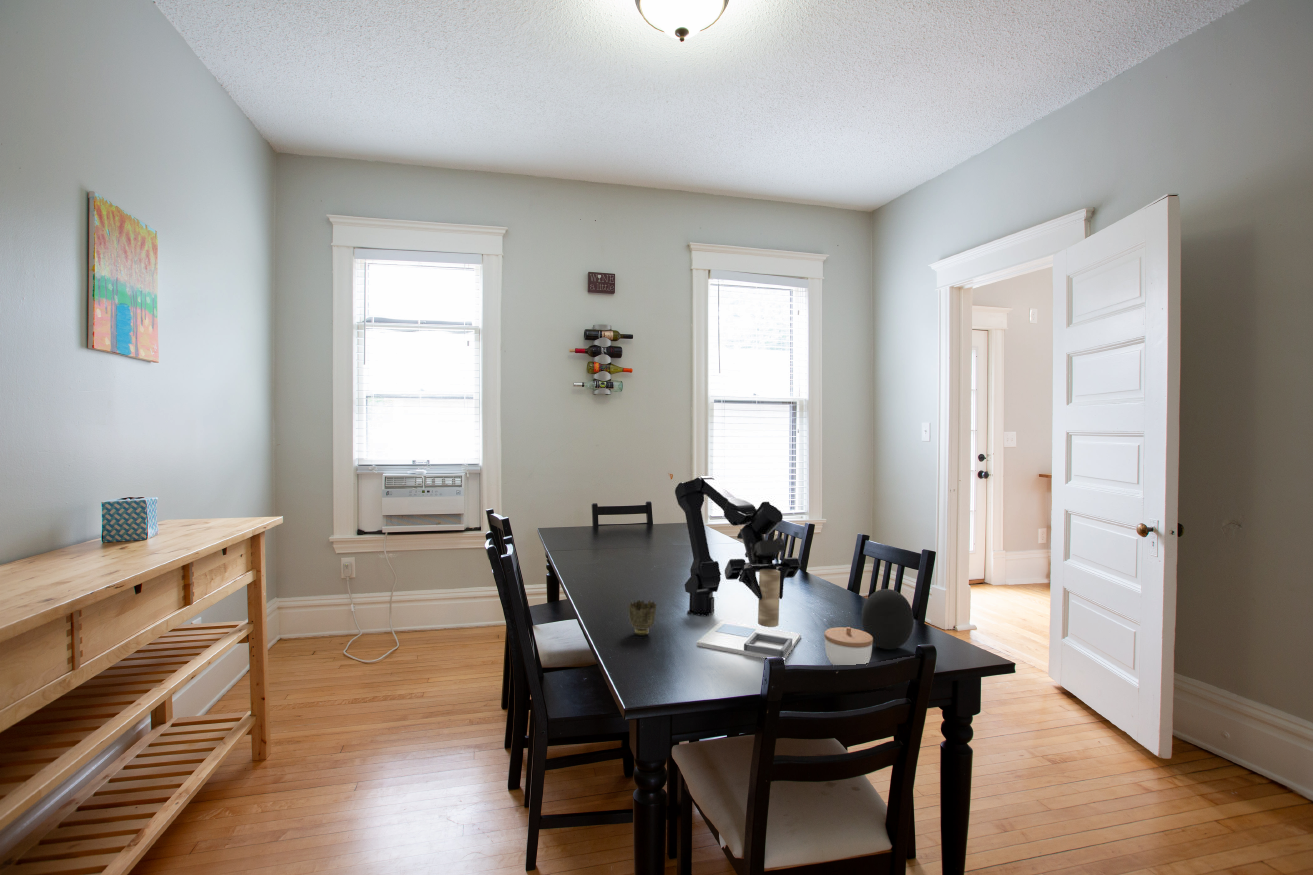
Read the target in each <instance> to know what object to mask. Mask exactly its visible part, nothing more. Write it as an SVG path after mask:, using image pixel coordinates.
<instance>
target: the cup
mask: <svg viewBox="0 0 1313 875" xmlns="http://www.w3.org/2000/svg"><path fill="white" fill-rule="evenodd" d="M656 611H657V603H655V601H650V600H649V601H648V602H647V603H645V602H644V600H640V599H637V600H636V601H634V600H633V601H632V602H631V601H630V602H629V603H628V614H629V615H628V616H629V623H630V624H631V626H632V628H634V632H635V633H634V634H636V635H637V636H646V635H648V634H649V633H650V632H649V629H650V628H652V626H653V624H654V622H655V616H656V613H657V612H656Z"/></svg>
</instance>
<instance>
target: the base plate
mask: <svg viewBox="0 0 1313 875" xmlns="http://www.w3.org/2000/svg"><path fill="white" fill-rule="evenodd" d="M801 636H802V635H801V633H797V632H791V631H786V630H780V629H774V628H770V627H764V626H757V625H751V624H744V623H738V622H732V621H726V620H721V621H720V622H719V623H717V624H716V625H715V626H713V628H711V629H709V631H708V632H707V633H705V634H704V635H703V636H702V637H700V638H699V640H697V641H696V646H697V647H702V648H706V649H711V650H716V651H717V650H718V651H724V652H728V653H734V654H739V655H743V656H749V657H755V658H759V657H760V658H759V659H765V658H767V657H783V658H785V660H786V659H787V658H788V657H787V656H789V655H790V654H791V652H792V651H793V650H794V649H795V647H794V646H796V645H797V644H798V643H799V641H800V639H801ZM791 650H792V651H791ZM789 653H790V654H789ZM788 654H789V655H788ZM762 657H764V658H762ZM765 660H766V659H765Z"/></svg>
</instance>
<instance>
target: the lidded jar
mask: <svg viewBox="0 0 1313 875" xmlns="http://www.w3.org/2000/svg"><path fill="white" fill-rule="evenodd" d="M824 649H825V653H826V654H825V655H826V656H827V659H828V660H829V662H830V663H831V664H832V665H833V666H834V665H856V664H866V663H868V664H869V662H870V660H871V657H872V652H873V637H872V636H871V635H870V634H868V633H866V632H864V630H861V629H857V628H852V627H850V626H847V627H831V628H828V629H825V631H824Z"/></svg>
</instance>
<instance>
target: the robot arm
mask: <svg viewBox="0 0 1313 875" xmlns="http://www.w3.org/2000/svg"><path fill="white" fill-rule="evenodd" d="M674 494H675V498H676V501H677V505H678V506H679V507H680V508H681V510H682V511H683V512H684V514H685V520H686V524H687V530H688V536H689V541H690V547H691V552H692V557H693V558H692V559H693V561H692V563H691V567H690V571H689V573H690V577H689V578H688V579H687V581H686V582H685V583H684V591H685V592H686V593H688V594H689V606H688V610H687V611H686V614H690V615H696V616H700V617H701V616H703V617H708V616H710V615H711V614H712V613H714V612H715V597H714V593H716V592H718V591H719V586H720V583H721V580H722V579H721V575H722V573H721V571H720V564H719V561H718V560H715V561H714V559H713V558H712V557H711V555H710V549H709V545H708V538H707V533H706V528H705V523H704V517H703V513H702V508H703V504H704V501H705V496H706V497H707V498H709V500H711V501H713V503H715V504H716V506H718V507H719V508H721V509H722V511H723V516H724V517H725V519H726V520H727V521H728V523H729V524H730V525H731V526H733V527H735V526H743V527H742V528H740V529H739V532H738V534H737V536H736V538H737V539H739V540H742V542H743V545H744V548H745V554H744V556H745V558H747V560H748V562H746V559H744V558H730V559H729V561H727V563H726V566H725V569H724V576H725V579H726V580H728V581H729V580H730V581H733V580H738V582H739V583H743V585H745V586H746V587H747V588H748V589H749V590H750V591H751V592H752V593H753V594H754V596H755V597H756V598H757V599H758V601H759V600H761V599H762V594H761V590H760V587H759V581H758V578H757V573H759V571H760V570H761V569H774V570H778V571H780V593H779V600H782V599H783V598H784V585H785V584H784V583H785V582H784V581H785V579H786V578H787V579H789V578H790V579H791V578H794V577H795V576H796V575H797V573H798V571H799V570H800V569H801V567H802V564H801V561H800V560H799V558H797V557H795V556H794V557H783V558H782V559H781V561H780V563H775V562H773V561H775V560H776V559H777V558H776V555H778V554H780V553H782V552H784V551H786V544H785V541H784V538H783V537H776V538H775V539H773V540H766V537H765V535H770V533H772V532H773V530H775V529H776V528H777V527H778V525H779V524H780V523H781V522H782V521H783V520H784V519H783V518H784V517H783V514H782V511H781V510H780V509H778V507H776V506H775V505H772V504H771V503H770V501H762V502H761V503H760V505H759V506H758V507H757V508H756V506H755V505H754V504H753V503H751V502H749V501H747V500H745V499H741V498H737V497H735V496H734V495H733V494H731V492H729V491H728V490H727V489H726V488H724V487H723V486H722V485H721V484H720V483H718V482H717V481H716V480H715V478H714V477H713V476H709V475H706V476H698V477H695V478H694V479H691V480H689V481H685V482H684V481H683V482H679V483H678V484H677V486H676V487H675V488H674Z"/></svg>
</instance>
